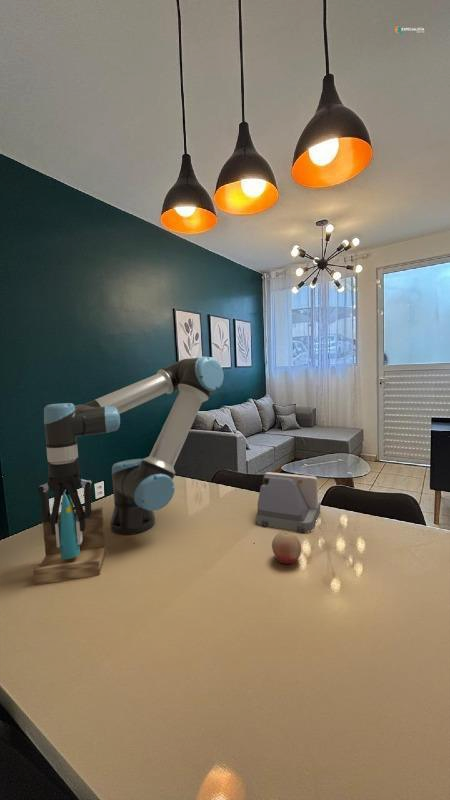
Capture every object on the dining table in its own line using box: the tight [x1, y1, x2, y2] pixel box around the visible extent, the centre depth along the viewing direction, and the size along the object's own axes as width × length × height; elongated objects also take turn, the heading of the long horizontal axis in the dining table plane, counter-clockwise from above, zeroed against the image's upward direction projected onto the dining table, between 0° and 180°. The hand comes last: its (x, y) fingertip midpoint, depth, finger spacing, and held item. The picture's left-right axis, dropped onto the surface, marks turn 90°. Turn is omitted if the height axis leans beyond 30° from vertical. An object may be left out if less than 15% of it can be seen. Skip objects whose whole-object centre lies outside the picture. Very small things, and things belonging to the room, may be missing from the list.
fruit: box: [271, 530, 302, 565], centre depth 93 cm, size 8×8×8 cm
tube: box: [60, 489, 80, 559], centre depth 93 cm, size 7×5×19 cm, turn 26°
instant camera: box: [255, 471, 321, 533], centre depth 119 cm, size 21×21×15 cm
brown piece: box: [32, 507, 107, 586], centre depth 94 cm, size 16×12×14 cm
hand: (70, 543), depth 94 cm, fingers closed on tube, 5 cm apart
